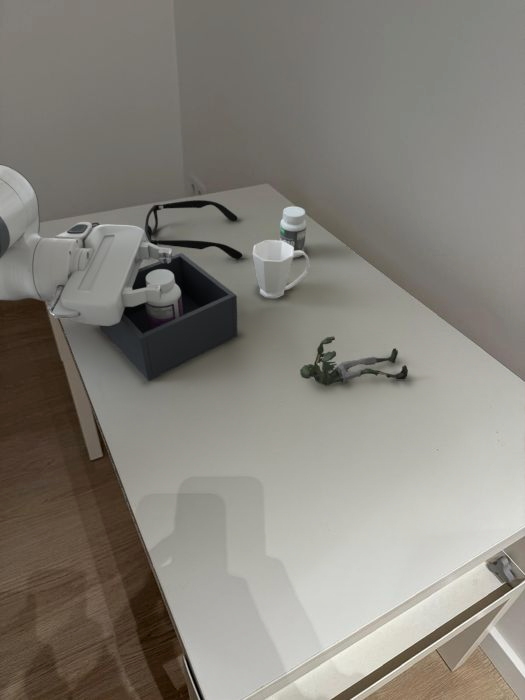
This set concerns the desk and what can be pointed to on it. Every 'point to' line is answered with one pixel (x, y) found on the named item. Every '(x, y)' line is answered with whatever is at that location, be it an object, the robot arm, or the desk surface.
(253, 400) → the desk surface
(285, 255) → the cup
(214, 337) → the bin
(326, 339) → the zombie figurine
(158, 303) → the pill bottle
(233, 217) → the glasses
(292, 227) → the pill bottle
